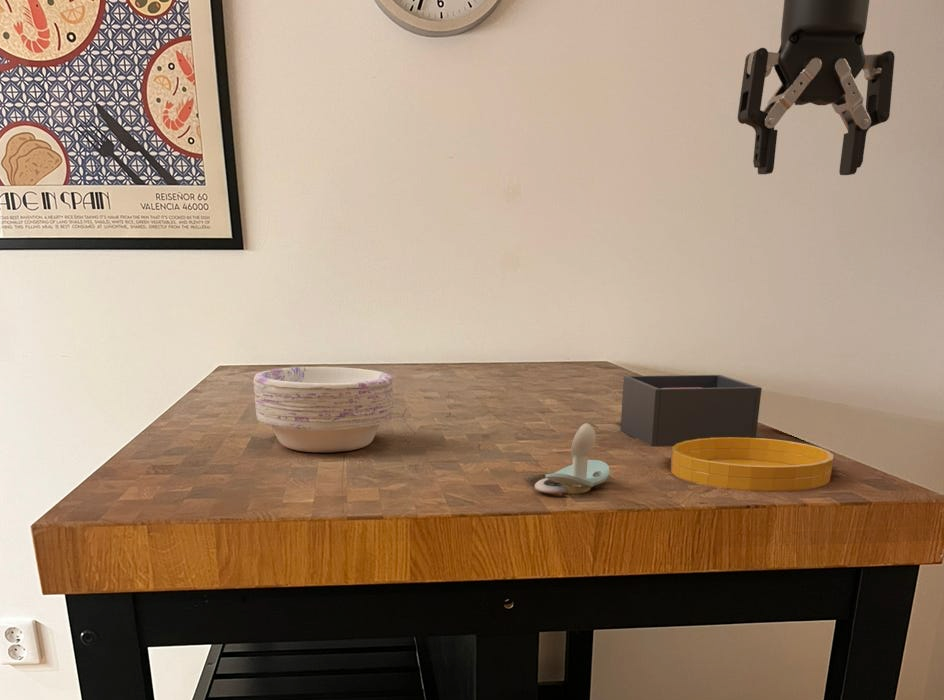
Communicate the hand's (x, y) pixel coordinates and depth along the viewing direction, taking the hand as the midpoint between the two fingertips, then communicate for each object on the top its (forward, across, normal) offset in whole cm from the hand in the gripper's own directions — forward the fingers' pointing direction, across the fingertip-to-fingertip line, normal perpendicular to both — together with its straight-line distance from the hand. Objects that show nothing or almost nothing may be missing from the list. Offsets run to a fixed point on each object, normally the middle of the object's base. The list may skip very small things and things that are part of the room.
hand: (806, 174), depth 94 cm
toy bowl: (+28, -7, -10) cm, 30 cm away
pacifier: (+28, -26, -14) cm, 41 cm away
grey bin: (+27, -6, +11) cm, 30 cm away
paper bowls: (+27, -48, +11) cm, 56 cm away
